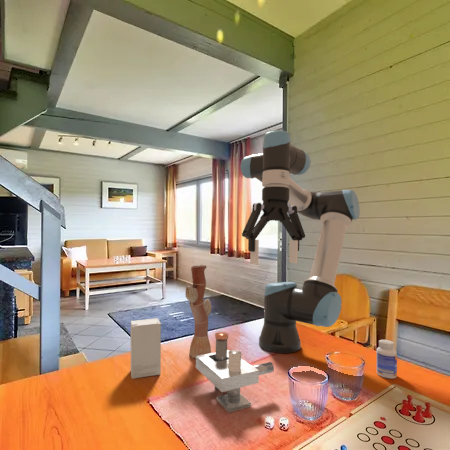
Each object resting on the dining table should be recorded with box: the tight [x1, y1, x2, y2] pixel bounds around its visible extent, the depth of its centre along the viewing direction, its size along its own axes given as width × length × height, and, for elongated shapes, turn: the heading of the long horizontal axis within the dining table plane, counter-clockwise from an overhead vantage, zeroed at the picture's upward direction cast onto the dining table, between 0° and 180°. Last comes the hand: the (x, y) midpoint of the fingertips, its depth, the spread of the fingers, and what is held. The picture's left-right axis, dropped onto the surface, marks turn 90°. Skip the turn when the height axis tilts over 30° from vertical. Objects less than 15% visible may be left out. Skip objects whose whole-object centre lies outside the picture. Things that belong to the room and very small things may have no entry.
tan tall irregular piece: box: [185, 264, 212, 360], centre depth 103 cm, size 10×7×30 cm
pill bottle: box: [375, 339, 398, 379], centre depth 91 cm, size 5×5×10 cm
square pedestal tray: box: [195, 349, 275, 413], centre depth 79 cm, size 14×16×12 cm
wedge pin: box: [214, 331, 229, 392], centre depth 81 cm, size 3×3×14 cm
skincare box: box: [130, 317, 162, 380], centre depth 89 cm, size 8×6×15 cm
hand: (274, 263), depth 86 cm, fingers open, 13 cm apart
